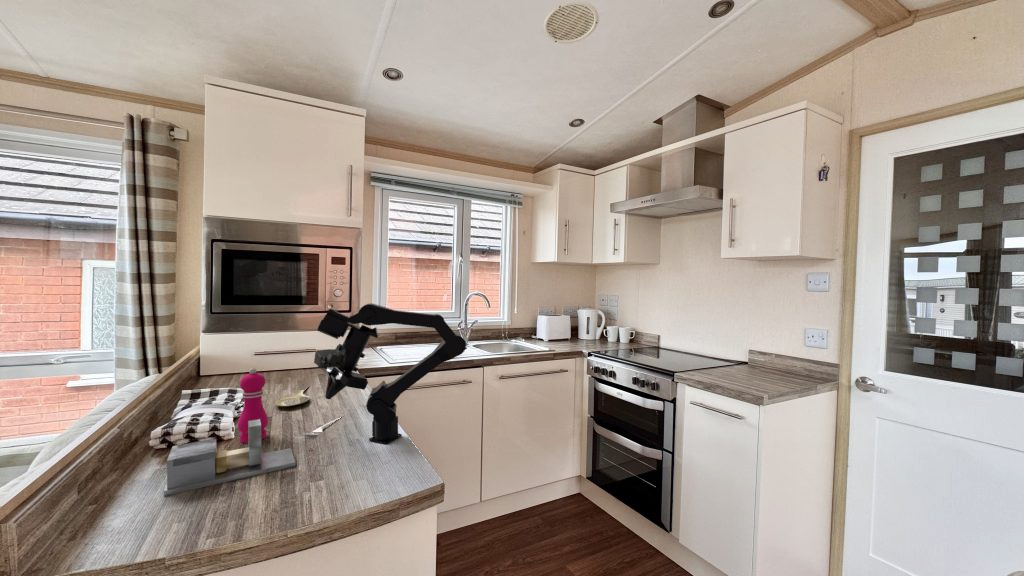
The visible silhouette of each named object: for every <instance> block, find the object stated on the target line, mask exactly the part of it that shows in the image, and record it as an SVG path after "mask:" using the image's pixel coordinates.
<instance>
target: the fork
mask: <svg viewBox="0 0 1024 576" xmlns="http://www.w3.org/2000/svg"><path fill="white" fill-rule="evenodd" d="M340 418H341V416H340ZM340 418H339V417H337V418H336V419H334V420H331V421H329V422H327V423H325V424H324V425H321V426H320V427H317V428H316V429H314V430H313V431H312V432H322V433H323V432H324V429H326V428H328V427H329V425H330V426H331V424H332V423H333V424H335V423H336V422H337V421H336V420H338V419H339V420H341V419H342V418H341V419H340ZM339 420H338V421H339ZM335 421H336V422H335ZM334 422H335V423H334ZM333 424H332V425H333ZM312 432H302V433H303V434H304V435H307V436H319V435H320V434H314V433H312Z"/></svg>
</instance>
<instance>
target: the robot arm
mask: <svg viewBox="0 0 1024 576" xmlns="http://www.w3.org/2000/svg"><path fill="white" fill-rule="evenodd" d="M358 324H362V325H361V326H359V325H358ZM392 324H393V325H394V324H395V325H403V326H414V327H423V328H431V329H432V328H433V329H434V330H435V331H436V332H437V333H438V335H439V336H440V337H441V339H442V340H441V341H440V342H439V344H438V345H437V347H435V349H434V350H433V351H432V352H430V353H429V354H428V355H426V357H424V358H422V359H421V360H420V361H419V362H417V363H416V364H415V365H413V366H412V367H411V368H409V369H408V370H407V371H405V372H404V373H403V374H401V375H400V376H399V377H397V378H396V379H395V380H393V381H391V382H388V383H386V381H385V380H382V381H381V382H380V383H379V384H378V385H377V386H375V387H372V389H371V391H370V393H369V394H368V398H367V400H366V407H365V408H366V410H367V412H368V413H369V414H371V415H372V416H373V417H372V422H371V425H372V427H371V429H372V430H371V431H372V433H371V434H372V437H369V439H368V441H370V442H375V443H379V444H380V443H381V444H385V445H388V444H390V443H392V442H394V441H396V440H397V439H399V438H401V437H402V436H403V435H402V433H399V416H398V415H397V403H396V401H397V399H398V398H399V397H400V395H402V394H403V393H404V392H406V390H408V389H409V388H411V387H412V386H414V384H416V383H417V382H419V381H420V380H421V379H423V378H424V377H426V376H427V375H428V374H429V373H430V372H432V371H433V370H435V368H437V367H438V366H439V365H441V364H443V363H445V362H448V361H451V360H453V359H454V358H457V357H458V356H460V355H462V354H463V353H464V352H465V350H466V348H467V342H466V340H465V339H464V338H463V337H462V336H461V335H460V334H459V333H455V332H454V331H453V330H452V328H451V327H450V326H449V325H448V323H447V322H446V320H445V318H444V317H443V316H442V315H441V314H438V313H435V314H433V313H426V312H425V313H423V312H415V311H404V310H396V309H392V308H389V307H386V306H384V305H380V304H376V303H366V304H364V305H362V307H360V308H359V310H358V312H357V313H355V314H353V313H352V314H350V316H348V315H345V314H343V313H341V312H339V311H337V310H335V309H333V308H329V309H328V311H327V313H326V314H325V315H324V317H323V319H321V320H320V322H319V325H318V327H317V330H316V331H317V332H319V333H322V334H324V335H325V336H329V337H331V338H333V339H336V340H338V339H339V338H344V337H345V335H346V334H347V335H346V337H345V338H344V341H343V343H342V344H341V343H339V344H338V345H337V346H336V347H335V349H334V348H330V349H320V350H319V349H317V350H315V351H314V352H315V354H314V361H313V363H314V364H315V365H316V366H317V367H318V368H319V369H324V371H325V373H326V375H327V384H326V385H327V386H326V392H325V399H326V400H331V399H332V398H334V397H335V396H336V395H337V394H338V393H340V392H341V391H342V390H343V389H345V388H347V387H348V388H353V389H358V390H363V391H364V390H365V389H366V388H367V385H368V384H369V380H368V379H367V377H365V376H364V375H363V374H361V373H358V371H359V368H358V367H357V365H358V362H359V361H360V358H361V359H364V358H365V356H366V354H365V353H364V350H365V349H366V346H367V345H368V343H369V341H370V339H371V337H372V338H375V339H377V338H378V337H379V336H380V334H379V332H378V328H377V326H379V325H381V326H383V325H392ZM369 326H375V327H374V328H372V327H369ZM349 328H350V329H349ZM348 330H349V331H348ZM347 332H348V333H347ZM365 391H366V390H365Z"/></svg>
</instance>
